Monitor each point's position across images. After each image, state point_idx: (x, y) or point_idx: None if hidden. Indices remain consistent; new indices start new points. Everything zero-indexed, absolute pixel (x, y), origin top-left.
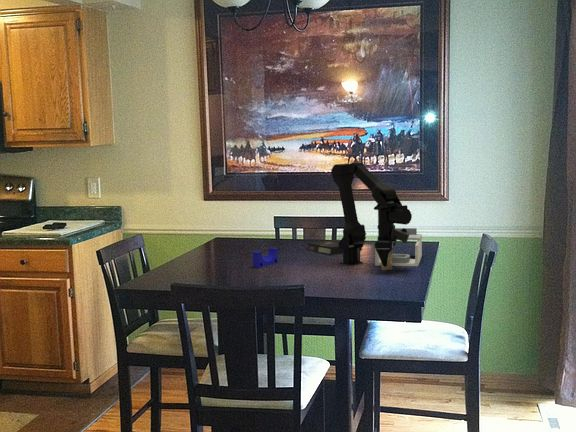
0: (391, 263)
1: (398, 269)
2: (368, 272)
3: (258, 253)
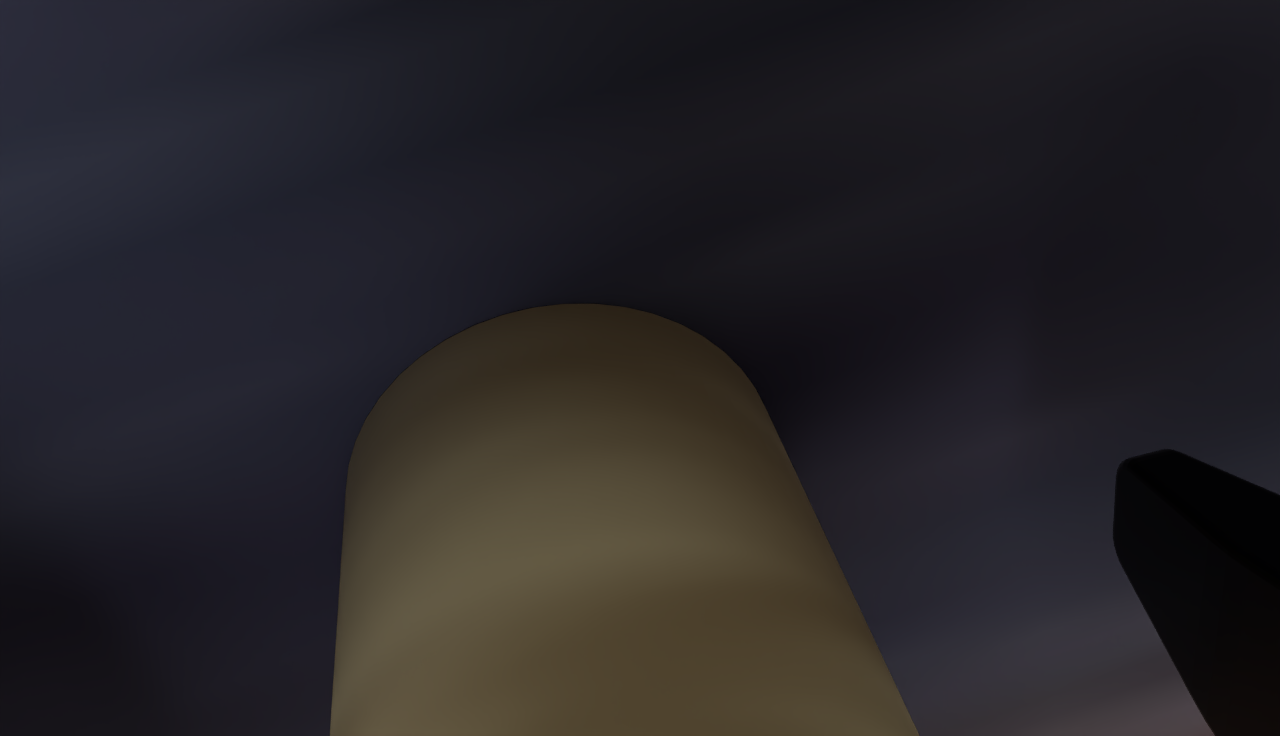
0: (639, 461)
1: (452, 29)
2: None
3: None
